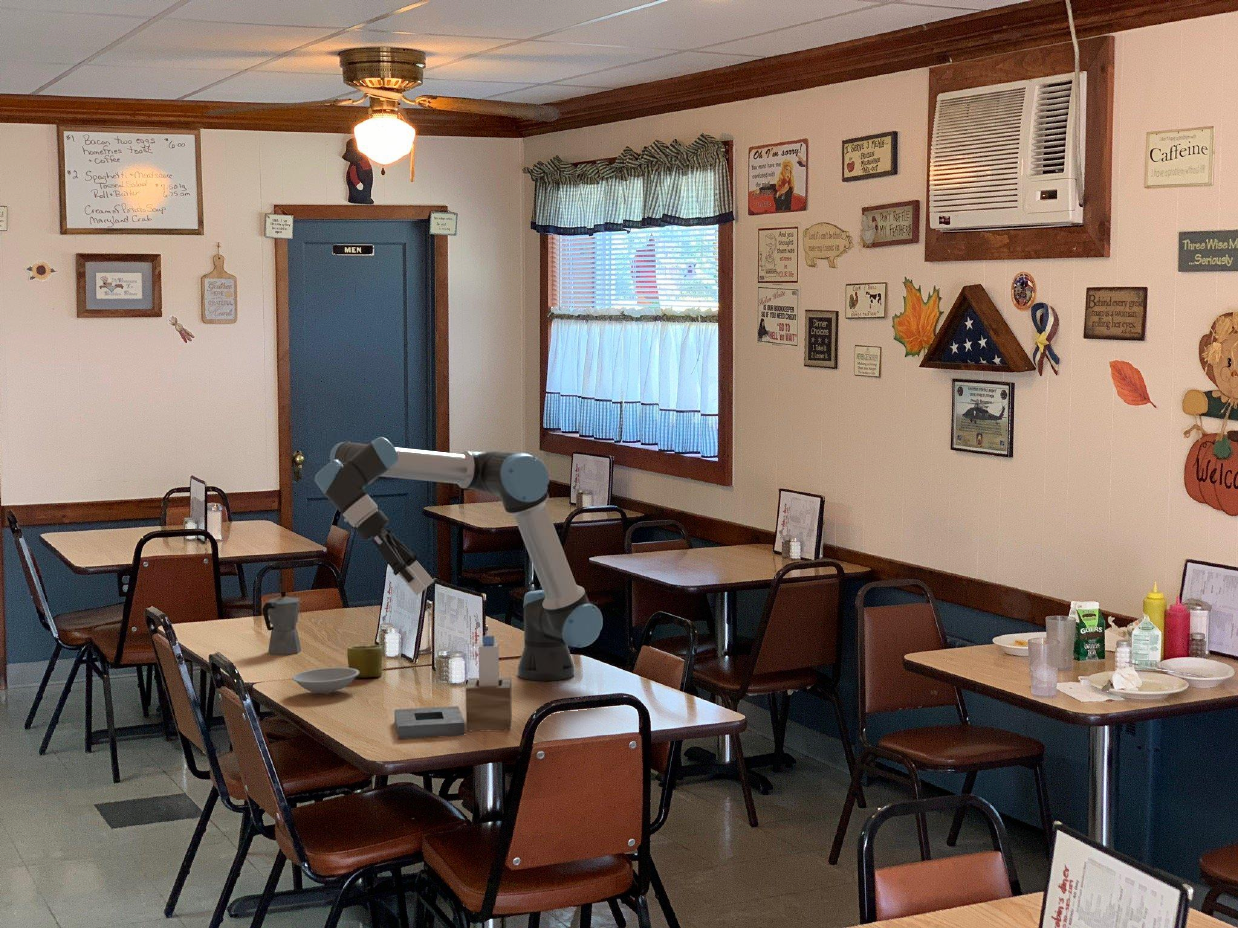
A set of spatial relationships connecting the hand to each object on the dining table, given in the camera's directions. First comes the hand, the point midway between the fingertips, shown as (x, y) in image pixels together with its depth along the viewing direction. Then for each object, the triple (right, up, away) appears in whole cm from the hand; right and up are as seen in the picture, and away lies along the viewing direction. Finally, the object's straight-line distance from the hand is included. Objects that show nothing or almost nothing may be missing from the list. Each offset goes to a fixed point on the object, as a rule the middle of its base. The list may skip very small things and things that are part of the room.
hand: (425, 588), depth 331 cm
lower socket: (+1, -32, -3) cm, 32 cm away
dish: (-30, -30, +31) cm, 52 cm away
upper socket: (+15, -32, 0) cm, 35 cm away
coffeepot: (-52, -26, +79) cm, 98 cm away
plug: (+15, -25, 0) cm, 29 cm away
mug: (-23, -28, +52) cm, 63 cm away
